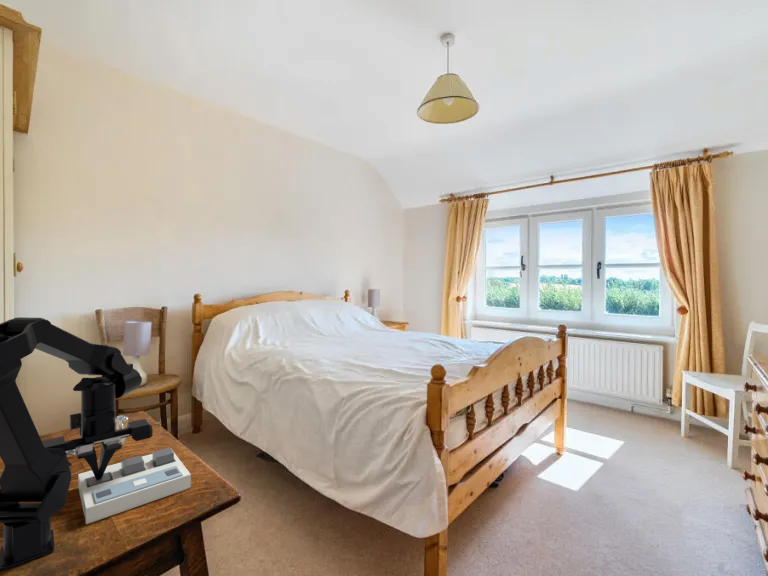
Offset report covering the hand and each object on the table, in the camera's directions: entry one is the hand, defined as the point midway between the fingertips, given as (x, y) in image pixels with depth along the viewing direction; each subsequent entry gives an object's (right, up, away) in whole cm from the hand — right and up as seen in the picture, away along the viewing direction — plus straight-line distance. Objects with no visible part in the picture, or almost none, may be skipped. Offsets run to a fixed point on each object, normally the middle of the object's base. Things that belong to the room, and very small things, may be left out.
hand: (98, 479), depth 78 cm
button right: (+9, -1, +8) cm, 12 cm away
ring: (-11, -2, +22) cm, 25 cm away
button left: (0, -3, 0) cm, 3 cm away
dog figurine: (-20, -3, +14) cm, 24 cm away
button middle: (+4, -1, +4) cm, 6 cm away
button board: (+6, -3, +3) cm, 7 cm away
